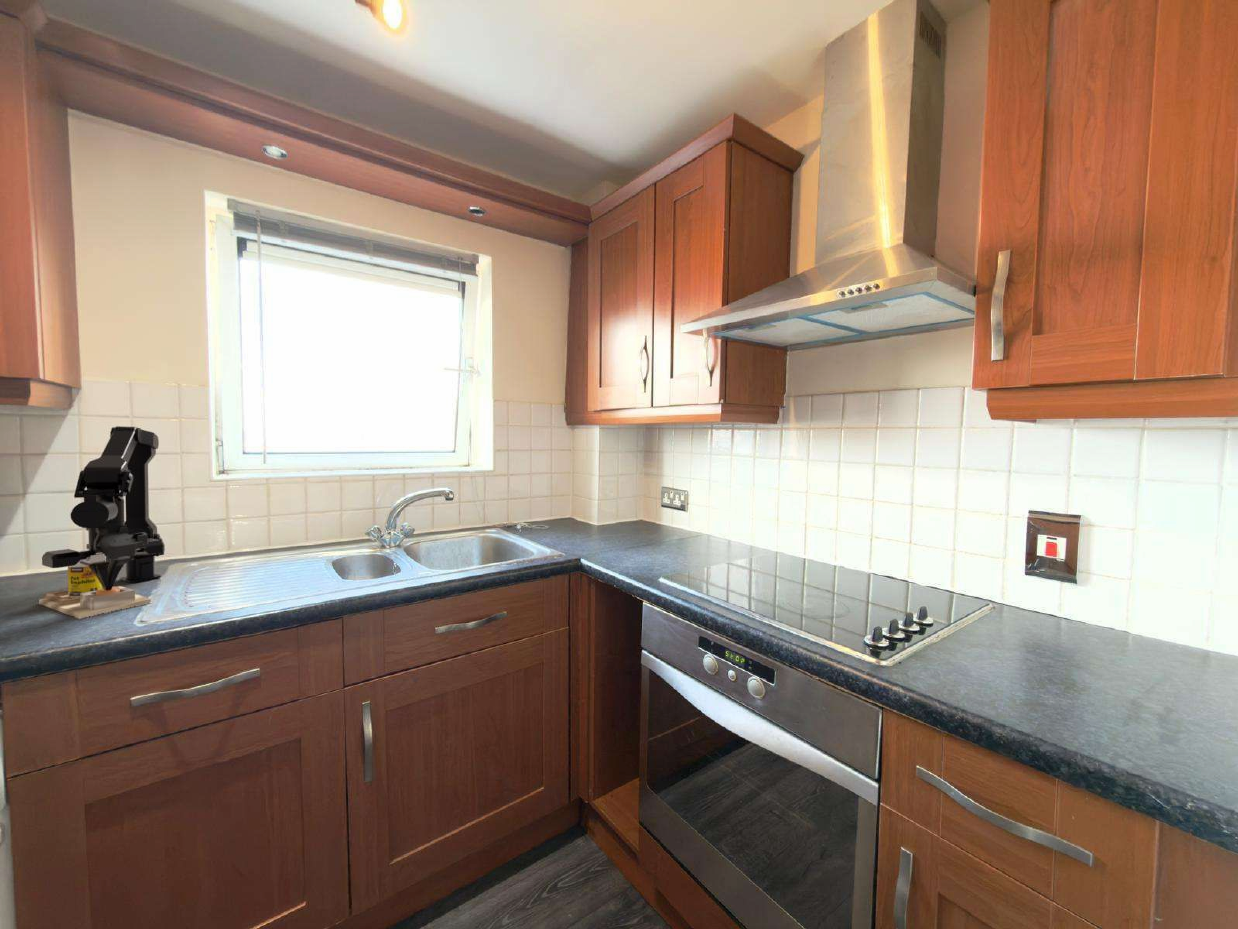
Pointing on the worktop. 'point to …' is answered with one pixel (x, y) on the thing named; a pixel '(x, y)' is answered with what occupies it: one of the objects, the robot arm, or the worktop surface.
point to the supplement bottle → (81, 580)
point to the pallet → (92, 602)
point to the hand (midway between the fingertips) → (107, 590)
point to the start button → (104, 592)
